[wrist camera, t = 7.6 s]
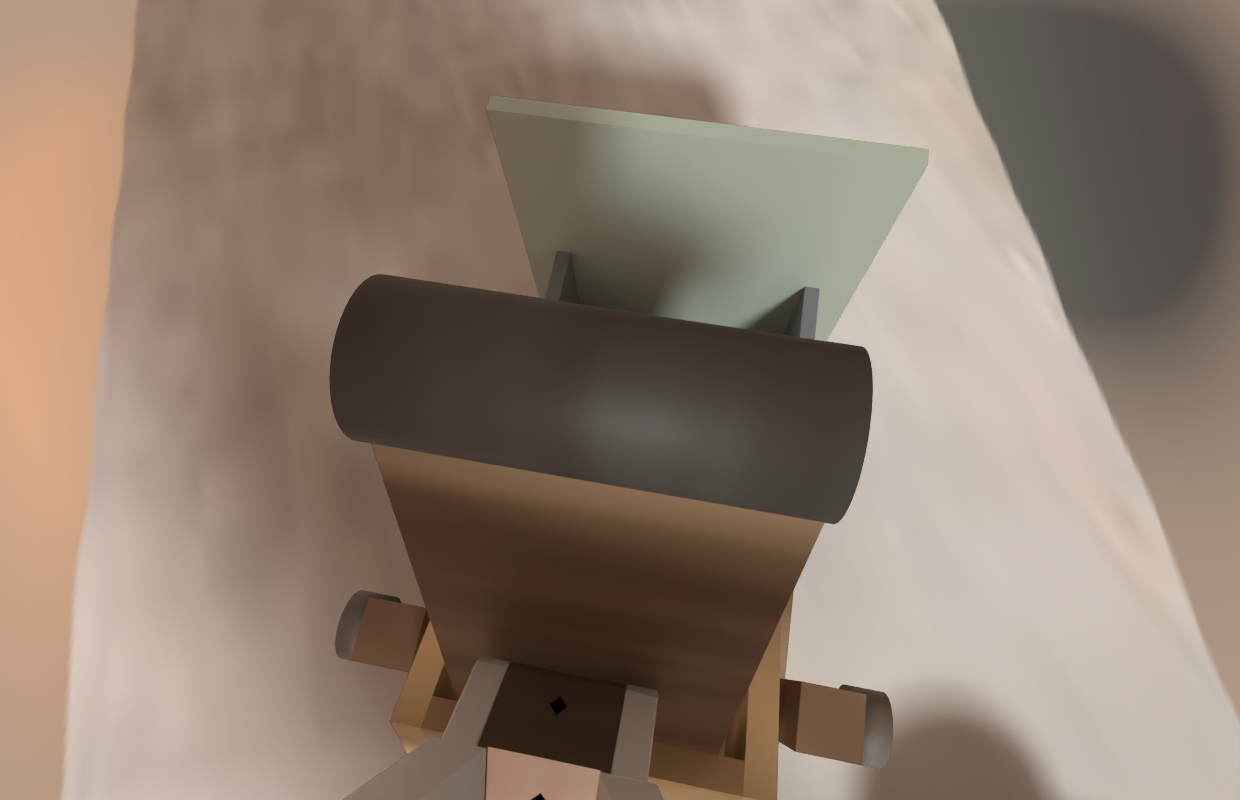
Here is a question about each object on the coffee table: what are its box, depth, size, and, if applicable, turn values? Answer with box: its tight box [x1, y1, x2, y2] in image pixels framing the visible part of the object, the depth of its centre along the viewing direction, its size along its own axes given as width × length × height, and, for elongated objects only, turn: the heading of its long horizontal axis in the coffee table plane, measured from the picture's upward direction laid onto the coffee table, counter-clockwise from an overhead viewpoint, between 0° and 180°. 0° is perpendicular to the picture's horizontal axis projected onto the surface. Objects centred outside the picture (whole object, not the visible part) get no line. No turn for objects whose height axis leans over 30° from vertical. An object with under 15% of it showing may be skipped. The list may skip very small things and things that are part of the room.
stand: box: [335, 591, 893, 769], centre depth 24 cm, size 10×14×16 cm
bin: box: [486, 95, 929, 341], centre depth 28 cm, size 11×14×16 cm
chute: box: [330, 274, 873, 800], centre depth 15 cm, size 10×9×15 cm
